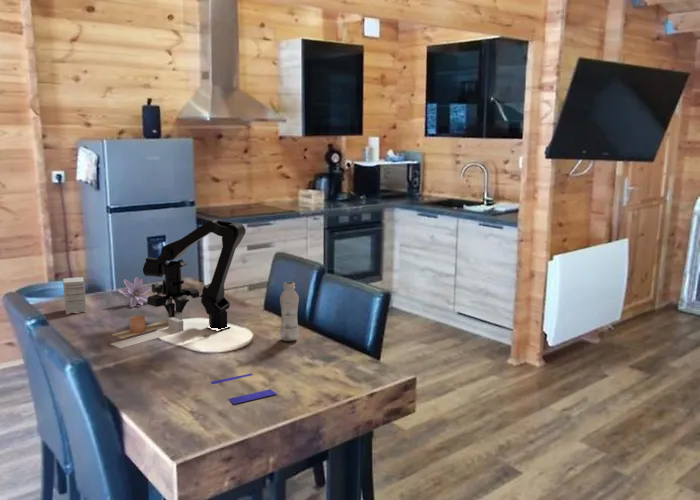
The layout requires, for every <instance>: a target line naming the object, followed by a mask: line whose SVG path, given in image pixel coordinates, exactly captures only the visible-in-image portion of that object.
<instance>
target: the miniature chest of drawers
mask: <svg viewBox="0 0 700 500" xmlns="http://www.w3.org/2000/svg"><path fill="white" fill-rule="evenodd" d="M62 285H63V286H62V287H63V298H64V307H65V309H64V310H65V314H66V313H74V312H84V311H86V312H87V304H86V303H87V302H86V289H85V286H86V285H85V280H84V277H83V276H78V277H67V278H63V279H62Z"/></svg>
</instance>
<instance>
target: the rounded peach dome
mask: <svg viewBox="0 0 700 500" xmlns="http://www.w3.org/2000/svg"><path fill="white" fill-rule="evenodd" d="M145 326H146V316H145V315H143V314H136V315H135V314H134V315H131V316H129V330H130V332H131V333H141V334H143V333H142V332H145ZM145 333H146V332H145Z"/></svg>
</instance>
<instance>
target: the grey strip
mask: <svg viewBox="0 0 700 500" xmlns="http://www.w3.org/2000/svg"><path fill="white" fill-rule="evenodd" d="M167 320H168V326H167V327H166V328H164V329H163V328H162V329H158V330H156V331H153V332H152V331H151V332H148V333H145V334H141V335H138V336H137V335H136V336H134V337H130V338H127V339H126V338H125V339H124V340H123V339H122V340H120V341H116V342H112V343H110V345H112V346H114V347H117V348H119V349H122V348H125V347H129V346H133V345H137V344H139V343H143V342H147V341H148V342H149V341H150V340H154V339H158V338H162V337H164V336H168V335H169V336H170V335H173V334H176V333H180V332H183V331H184V329H185V328H184V320H183V319H182V320H180V319H177V318H174V317H172V318H168V317H167Z"/></svg>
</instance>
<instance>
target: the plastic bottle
mask: <svg viewBox="0 0 700 500" xmlns="http://www.w3.org/2000/svg"><path fill="white" fill-rule="evenodd" d="M295 289H296V284H295V282H294V281H285V282H283V291H282V293H281V294H280V296H279V303H280V313H281V318H280V319H281V321H280V322H281V323H280V328H279V329H280V330H279V337H280V338H281V340H282V341H285V342H294V341H296V340H297V339H298V338H299V336H300V329H299V323H298V309H299V300H300V297H299V294H298V292H296V290H295Z"/></svg>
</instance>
